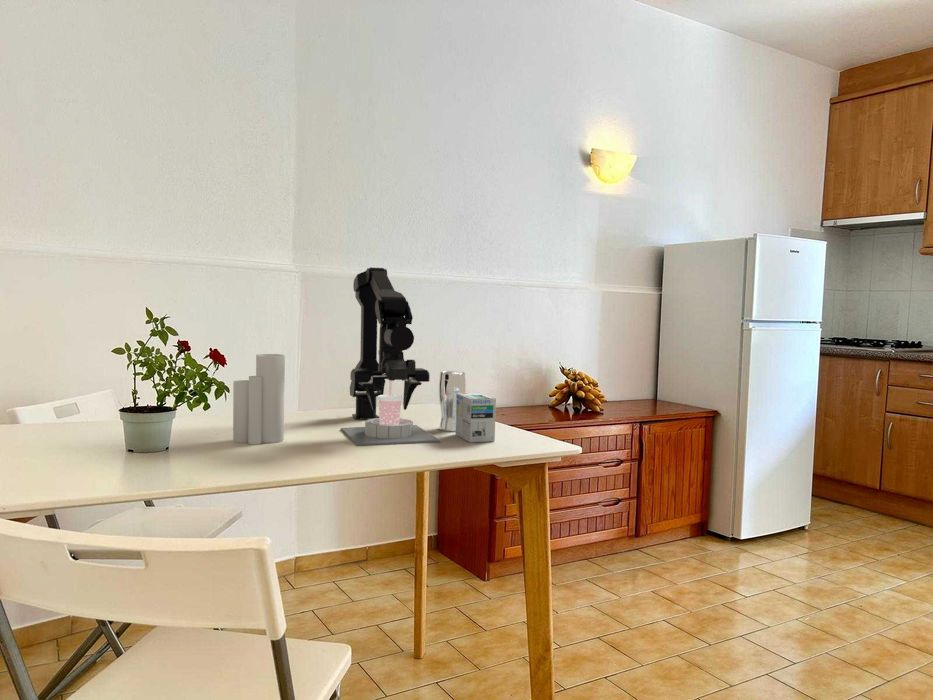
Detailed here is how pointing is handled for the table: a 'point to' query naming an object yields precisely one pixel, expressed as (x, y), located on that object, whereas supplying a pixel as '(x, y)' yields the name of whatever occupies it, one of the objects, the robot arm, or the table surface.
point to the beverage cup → (389, 408)
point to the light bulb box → (475, 417)
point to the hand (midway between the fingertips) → (389, 410)
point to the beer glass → (450, 397)
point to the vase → (260, 402)
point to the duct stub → (388, 433)
